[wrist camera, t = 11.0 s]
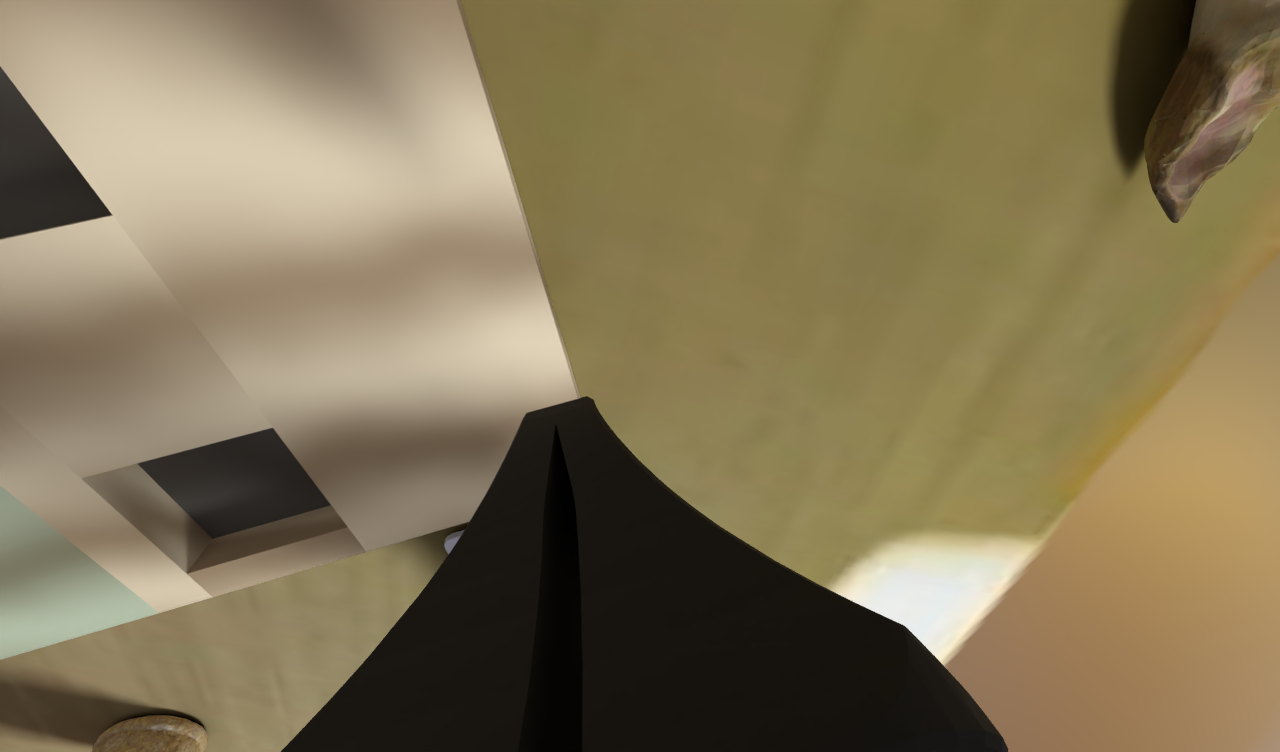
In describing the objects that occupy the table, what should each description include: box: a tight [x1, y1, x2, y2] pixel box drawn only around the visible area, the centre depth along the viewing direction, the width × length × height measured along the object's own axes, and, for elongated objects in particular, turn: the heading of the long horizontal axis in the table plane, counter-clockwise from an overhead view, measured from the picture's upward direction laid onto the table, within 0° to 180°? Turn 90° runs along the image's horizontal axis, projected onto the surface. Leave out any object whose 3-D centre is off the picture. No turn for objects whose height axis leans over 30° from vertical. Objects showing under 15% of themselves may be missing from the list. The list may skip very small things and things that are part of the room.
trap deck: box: [0, 0, 580, 660], centre depth 13 cm, size 20×26×4 cm
